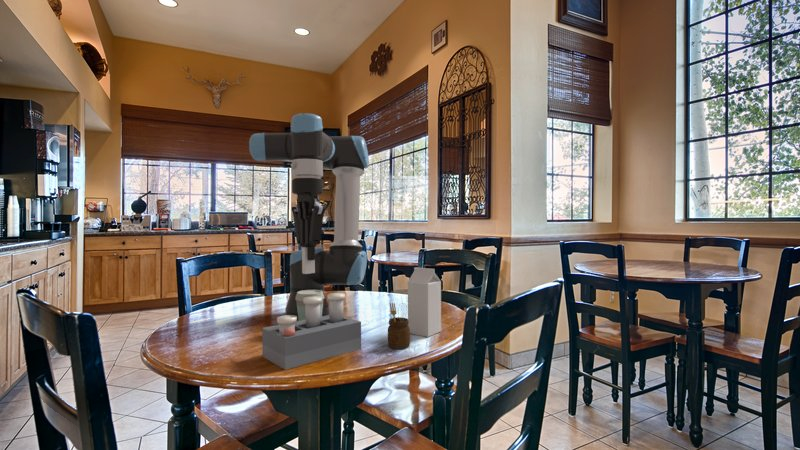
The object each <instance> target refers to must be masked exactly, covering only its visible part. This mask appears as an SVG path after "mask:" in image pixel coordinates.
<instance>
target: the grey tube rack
mask: <svg viewBox="0 0 800 450" xmlns="http://www.w3.org/2000/svg"><path fill="white" fill-rule="evenodd" d="M261 328H262V330H261V336H262V343H261V344H262V348H261V349H262V357H263V358H264V359H266V360H268V362H271V363H272V364H274V365H276V366H278V367H280V368H282V369H283V370H285V371H287V370H290V369H293V368H297V367H300V366H301V367H302V366H304V365H308V364H312V363H315V362H319V361H322V360H326V359H329V358H333V357H334V358H335V357H336V356H337V357H338V356H340V355H345V354H348V353H351V352H355V351H358V350H361V349H362V321H359V320H356V319H353V318H350V317H347V316H343V321H341V322H337V323H331V322H330V314H327V315H325V316H322V317H320V326H318V327H313V328H307V327H306V320H301V321H299V320H297V322H295V329H293V328H288V329H285V330H284V334H281V333H279V324H276V325H272V326H271V325H270V326H266V327H265V326H264V327H261Z"/></svg>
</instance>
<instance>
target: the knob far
mask: <svg viewBox="0 0 800 450" xmlns="http://www.w3.org/2000/svg"><path fill="white" fill-rule="evenodd" d="M326 299H327V300H328V305H329V315H330V322H331V323H337V322H341V321H343V317H344V299H346V294H345V293H344V292H343V293H342V292H333V293H328V294H327V296H326Z"/></svg>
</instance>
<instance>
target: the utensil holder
mask: <svg viewBox="0 0 800 450" xmlns="http://www.w3.org/2000/svg"><path fill="white" fill-rule="evenodd" d="M403 305H404V306H405V310H408V304H406V303H404V302H401V303H400V306H403ZM389 309H390V314H391V315H393V317H391V318H390V319H388V320H389V321H388V327H387V346H388V347H389V348H391V349H394V350H404V349H408V348H410V346H411V333H410V328H409V326H408V324H409V321H408V317H406V316H407V315H406V314H408V311H403V313H402V314H404V317H403V316H400V313H398V317H396V315H397V309H398V311H402V310H403V309H402V307H398V308H396V304H395V303H394V302H389ZM399 309H400V310H399Z"/></svg>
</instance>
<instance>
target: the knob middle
mask: <svg viewBox="0 0 800 450" xmlns="http://www.w3.org/2000/svg"><path fill="white" fill-rule="evenodd" d="M321 302H322V297H317V296H312V297H305V298H303V303H305V313H306V327H307V328H313V327H318V326H320V303H321Z"/></svg>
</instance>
